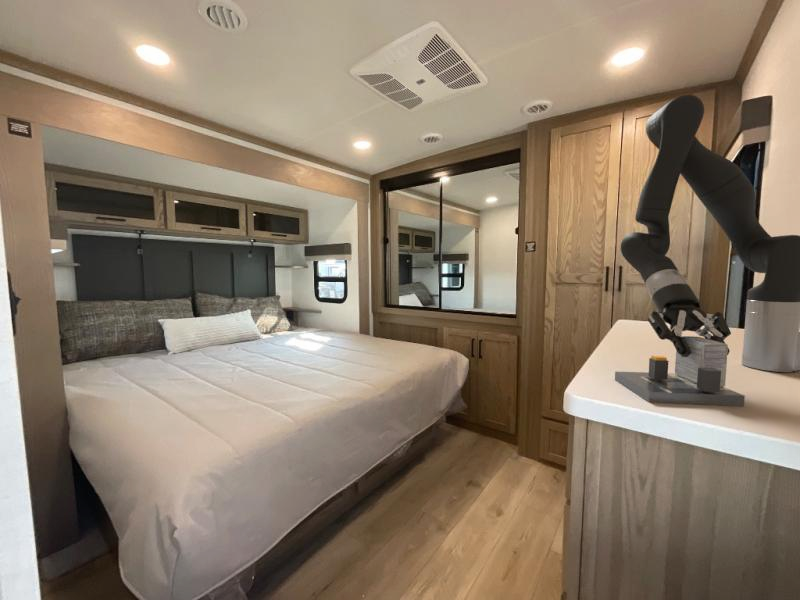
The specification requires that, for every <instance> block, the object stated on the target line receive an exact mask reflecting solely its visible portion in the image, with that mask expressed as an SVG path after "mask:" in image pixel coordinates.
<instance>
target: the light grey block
mask: <svg viewBox="0 0 800 600" xmlns="http://www.w3.org/2000/svg"><path fill="white" fill-rule="evenodd" d="M681 337H684V338H685V340H686V342H687V344H688V346H689V347H690V349H691V354H690V355H689V356H688V357H682V356H681V354H679V353H678V352H677V350H676V349H675V351H676V352H675V367H674V373H675V374H676V375H679V376H681V377H683V378H685V379H688V380H690V381H692V382H694V383H697V377H698V368H714V369H717V370H720V371H721V381H720V387H726V381H727V380H726V377H727V364H728V355H727V351H728V348H729V346H728V344H727V343H726V342H725V343H721V342H717V341H714V340H710V339H706V338H705V337H702V336H692V335H691V336H689V335H688V336H686V335H682V336H681Z"/></svg>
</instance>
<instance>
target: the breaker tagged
mask: <svg viewBox="0 0 800 600" xmlns="http://www.w3.org/2000/svg"><path fill="white" fill-rule="evenodd" d="M648 360H649V361H648V373H649V375H648V376H649V377H651V378H653V379H662V380H667V377H668V373H669V360H667V357H665V356H664V355H651V357H649V359H648Z"/></svg>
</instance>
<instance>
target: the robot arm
mask: <svg viewBox="0 0 800 600" xmlns="http://www.w3.org/2000/svg"><path fill="white" fill-rule="evenodd" d="M704 115H705V106H704V103H703V101H702V99H701V98H699V96H696V95H694V94H682V95H679V96H676V97H675V98H673V99H671V100H670V101H669V102H667V103H666V104H664V105H663V106H662V107H660V108H659V109H657V110H656V111H655V112H654V113H653V114H652V115H651V116H650V117H649V118H648V120H647V121H646V124H645V132H646V133H645V134H646V137H647V138H648V139H649V141H650V142H651V143H652V145H654V147H656V148H657V150H658V152H657V155H656V158H655V161H654V163H653V166H652V168H651V170H650V172H649V174H648V176H647V178H646V180H645V182H644V185H643V186H642V189H641V192H640V196H639V199H638V204H637V208H636V213H635V216H634V217H635V221H636V222H637V223H638V224H641V225H644V226H645V227H646V228H647V232H648V233H646V232H637V231H634V232H630V233H628V234H627V235H625V236H624V237H623V238H622V241H621V243H620V251H621V255H622V256H623V258H624V259H625V260H626V262H628V264H630V266H631V267H632V268H633V270H636V271H637V272H638V274H640V276H641V278H642V280H643V283H644V284H645V286H646V289H647V293H648V295H649V297H650V298H651V301H652V302H653V304H654V306H655V308H656V310H657V311H652V312H651V313H650V314H649V316H648V318H647V321H648V322H649V324H650V326H651V328H652V329H653V330H654V332H655V333H656V335H657V336H658V338H659V340H662V341H664V340H668V341H670V342H671V343H672V345H673V346H674V349H675V351H676V350H677V352H678V353H679V354H681V356H682V357H688V356H689V355H690V354H691V349H690V347H689V346H688V344H687V342H686V340H685V338H684V337H682V336H683V332H686V331H690V332H694V333H695V334H697V336H698V337H702V338H706V339H710V340H714V341H717V342H721V343H725V344H726V341H725V340H726V339H727V338H728V337H730V336H731V335H732V332H731V330H730V328H729V325H728V324H727V321H726V320H725V317H724V315H723V313H722V312H719V311H716V312H715V313H713V314H712V313H706V311H705V310H703V309H702V308H701V306H700V300H699V298H698V297H697V295H696V294H695V292H694V291H693V288H691V286H690V284H689V282H688V281H687V279H686V278H685V277H684V275H682V274H681V272H680V271H679V269H678V267H677V266H676V264H675V263H674V261H673V260H672V259H671V257H669V256H667V254H668V252H669V250H670V247H671V236H670V235H671V234H670V221H669V215H670V213H671V210H672V204H673V201H674V197H675V196H674V195H675V193H676V187H677V185H678V181H679V178H680V175H681V176H682V178H683V179H684V180H685V182H686V183H687V185H689V187H690V188H691V189H692V191H693V192H694V194H695V196H696V197H697V198H698V199H699V200H700V202H701V203H702V204H703V206H704V207H705V209H707V210H708V212H709V213H710V214H711V216H712V217H713V218H714V220H715V221H716V222H717V224H718V226H719V227H720V228H721V229H722V231H723V232H724V233H725V235H726V236H727V238H728V240H729V241H730V243H731V244H732V247H733V248H734V251H735V253H736V254H737V256H738V258H739V260H740V261H741V262H742V263H743V265H744V266H745V267H746V268H747V269H748V270H750V271H751V272H754V273H758V274H764V278H763V280H762V282H761V283H760V284H758V285H756V286H753V287H751V288H749V289H748V291H747V294H746V295H747V296H746V305H745V306H746V308H745V318H744V319H745V321H744V330H743V331H744V332H743V345H742V353H741V354H742V355H741V365H743V366H745V367H749V368H752V369H757V370H763V371H769V372H776V373H777V372H778V373H793V372H792V371H795V372H799V371H798V370H800V235H798V234H787V235H786V234H785V235H779V236H778V235H777V236H776V235H775V236H771V235H770V234H769V233H768V232H767V231H766V229H765V228H764V227H763V226H762V224H760V222H759V221H758V219H757V216H756V193H755V192H756V191H755V187H754V186H753V184H752V182H751V181H750V179H749V178H748V177H747V175H746V174H745V173H744V171H743V170H742V169H741V168H740V167H739V166H738V165H737V163H736V164H735V163H734V162H732V160H730V159H728V158H726V157H724V156H722V155H720V153H719V154H718V153H716V152H714V151H712V150H710V149H709V148H707V147H706V146H705V145H703V143H702V142H701V141H700V140H699V139H698V138H697V136H696V135H697V133H698V130H699V128H700V126H701V124H702V121H703V119H704ZM667 324H668V325H669V326H668V325H667ZM702 327H704V328H702ZM701 328H702V329H701ZM729 353H730V348H729V347H728V351H727V356H729Z"/></svg>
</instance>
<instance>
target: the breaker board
mask: <svg viewBox="0 0 800 600" xmlns="http://www.w3.org/2000/svg"><path fill="white" fill-rule="evenodd" d="M648 375H649V372H642V371H640V372H639V371H637V372H636V371H617V370H616V371H615V372H614V381H615V382H617V381H618V382H617V383H619V384H620V383H621V384H620V385H622V386H623V387H625V388H626V389H628V390H629V391H631V392H632V393H634V394H635V395H637V396H639V397H641V398H642V399H643V400H645V401H646V402H648V403H658V404H659V403H664V404H683V405H684V404H685V405H686V404H687V405H688V404H689V405H706V406H707V405H708V406H726V405H731V407H744V406H745V399H746V398H745V395H744V394H741V393H739V392H738V391H737V392H736V391H734V390H732V389H730V388H727V387H726V386H723V387H720V392H706V391H703V390H700V389H698V388H697V383H694V382H692V381H690V380H688V379H685V378H683V377H681V376H679V375H676V374H675V372H668V377H667V380H662V379H653V378H651V377H649V376H648Z"/></svg>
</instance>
